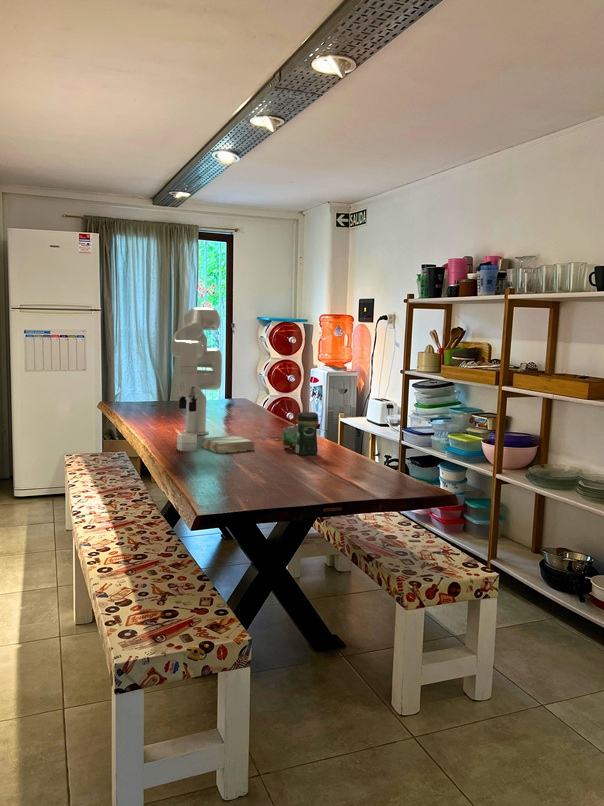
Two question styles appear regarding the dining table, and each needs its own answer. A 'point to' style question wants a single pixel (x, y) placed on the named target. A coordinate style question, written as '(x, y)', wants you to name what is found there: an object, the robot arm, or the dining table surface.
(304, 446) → the coffee jar
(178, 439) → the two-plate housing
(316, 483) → the dining table surface
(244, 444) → the wooden stand
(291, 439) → the food container
